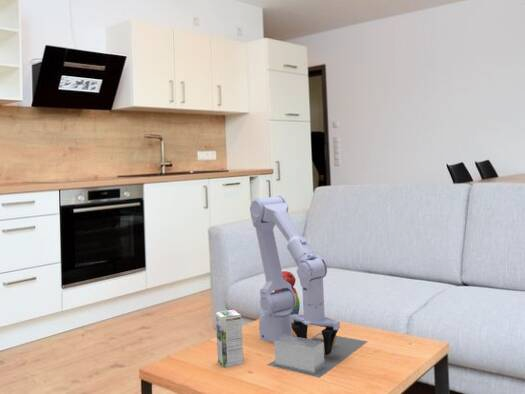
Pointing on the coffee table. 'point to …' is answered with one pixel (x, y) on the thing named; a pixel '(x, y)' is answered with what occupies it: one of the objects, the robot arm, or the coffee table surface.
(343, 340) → the board
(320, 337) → the slat
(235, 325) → the syrup box
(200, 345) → the coffee table surface
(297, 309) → the stacking bear
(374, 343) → the coffee table surface
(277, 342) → the grey rectangular block
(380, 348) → the coffee table surface
